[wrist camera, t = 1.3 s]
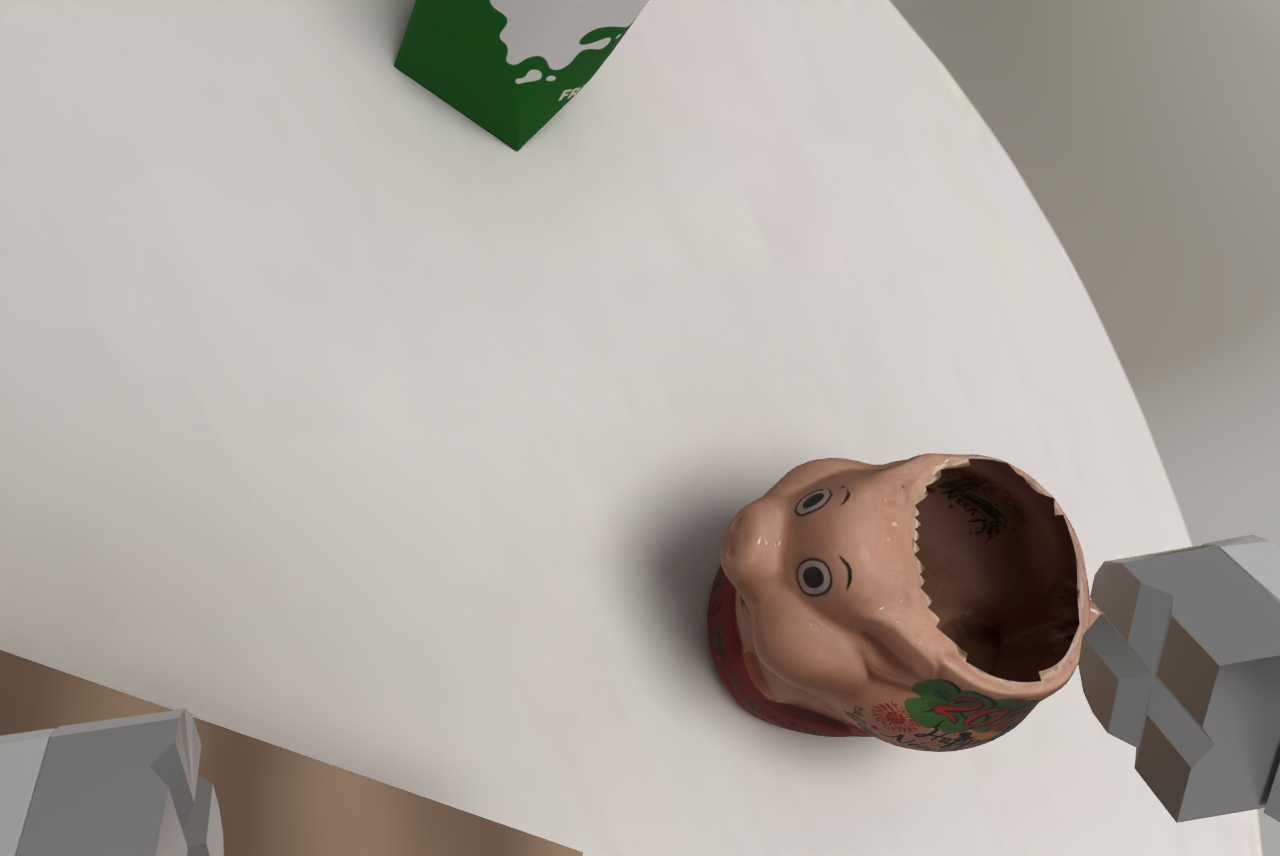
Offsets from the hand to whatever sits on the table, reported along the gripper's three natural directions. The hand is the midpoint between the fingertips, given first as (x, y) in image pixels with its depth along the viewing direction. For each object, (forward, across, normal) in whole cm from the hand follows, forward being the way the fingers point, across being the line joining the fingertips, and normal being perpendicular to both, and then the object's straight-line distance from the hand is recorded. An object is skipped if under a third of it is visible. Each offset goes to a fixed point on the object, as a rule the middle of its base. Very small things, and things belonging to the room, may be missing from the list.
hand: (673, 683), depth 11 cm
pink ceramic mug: (+36, -15, +31) cm, 50 cm away
